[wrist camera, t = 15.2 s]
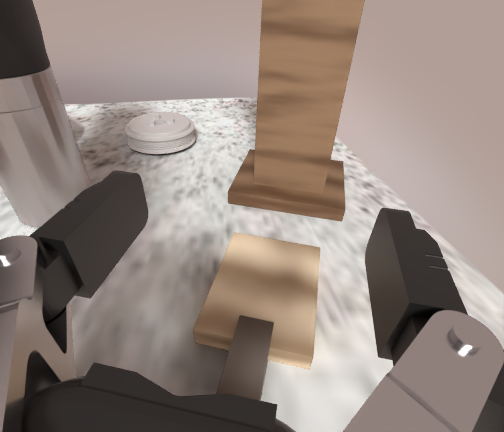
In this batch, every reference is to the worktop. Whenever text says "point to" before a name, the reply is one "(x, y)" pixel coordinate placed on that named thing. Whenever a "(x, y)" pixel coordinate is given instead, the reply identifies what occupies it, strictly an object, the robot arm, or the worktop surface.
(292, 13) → the tall stand
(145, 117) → the lid
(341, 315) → the worktop surface
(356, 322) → the worktop surface
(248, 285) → the wooden board
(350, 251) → the worktop surface
